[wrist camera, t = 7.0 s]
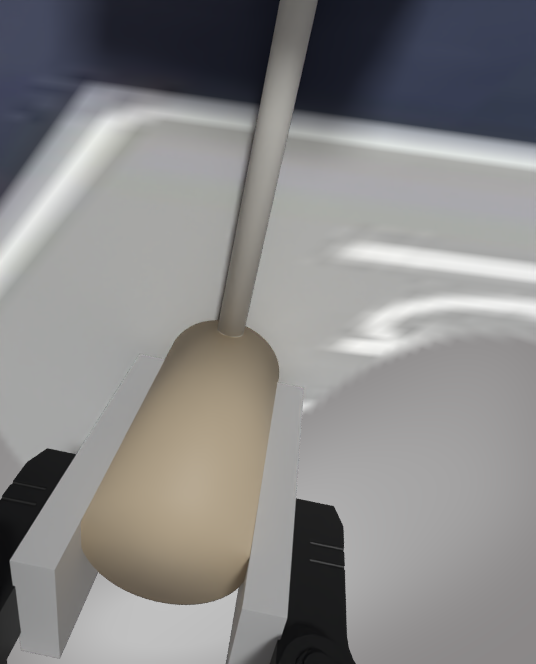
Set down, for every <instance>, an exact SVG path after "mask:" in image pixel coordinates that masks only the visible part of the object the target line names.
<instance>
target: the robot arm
mask: <svg viewBox="0 0 536 664" xmlns="http://www.w3.org/2000/svg"><path fill="white" fill-rule="evenodd" d="M164 360H165V359H162V358H157V357H152V356H147V355H142V354H139V356H138V357H137V359H136V360H135V362H134V364H133V365H132V367H131V368H130V370H129V372H128V373H127V375H126V376H125V378H124V379H123V381H122V383H121V384H120V386H119V387H118V389H117V391H116V392H115V394H114V395H113V397H112V399H111V400H110V402H109V403H108V405H107V407H106V408H105V410H104V411H103V413H102V414H101V416H100V418H99V419H98V421H97V422H96V424H95V426H94V427H93V429H92V430H91V432H90V434H89V435H88V437H87V438H86V440H85V442H84V443H83V445H82V446H81V448H80V449H79V451H78V453H77V454H72V453H67V452H62V451H57V450H53V449H48V448H47V449H46V450H44V451H43V452H41V453H40V454H38V455H37V456H35V457H34V458H32V459H31V460H30V461H28V462H27V463H26V464H25V466H24V467H23V468H22V470H21V471H20V472H19V474H18V475H17V476H16V478H15V479H14V480H13V484H11V485H10V486H9V487H8V489H7V490H6V491H5V493H4V494H3V495H2V499H1V500H0V664H7V658H8V656H9V654H10V652H11V650H12V648H13V646H14V644H15V642H16V641H17V639H18V637H20V646H21V651H26V652H31V653H35V654H40V655H45V656H50V657H54V658H60V657H61V655H62V653H63V650H64V648H65V646H66V644H67V641H68V639H69V637H70V635H71V632H72V630H73V628H74V625H75V623H76V621H77V618H78V616H79V614H80V612H81V610H82V607H83V605H84V603H85V601H86V598H87V596H88V594H89V591H90V589H91V587H92V585H93V583H94V580H95V578H96V576H97V574H98V571H97V570H96V569H95V568H94V567H93V566H92V564H91V563H90V562H89V561H88V559H87V558H86V556H85V554H84V552H83V550H82V548H81V520H82V518H83V516H84V514H85V512H86V510H87V508H88V506H89V504H90V503H91V501H92V499H93V497H94V495H95V493H96V491H97V489H98V487H99V485H100V483H101V481H102V480H103V478H104V476H105V474H106V472H107V470H108V468H109V466H110V464H111V462H112V460H113V458H114V456H115V455H116V453H117V451H118V449H119V447H120V445H121V443H122V441H123V439H124V437H125V435H126V433H127V431H128V430H129V428H130V426H131V424H132V422H133V420H134V418H135V416H136V414H137V412H138V410H139V408H140V407H141V405H142V403H143V401H144V399H145V397H146V395H147V393H148V391H149V389H150V387H151V385H152V383H153V382H154V380H155V378H156V376H157V374H158V372H159V370H160V368H161V366H162V364H163V362H164ZM303 394H304V388H303V387H298V386H294V385H289V384H284V383H279V382H277V389H276V395H275V401H274V407H273V414H272V420H271V426H270V433H269V439H268V445H267V451H266V458H265V464H264V471H263V477H262V483H261V490H260V496H259V502H258V509H257V515H256V522H255V528H254V534H253V541H252V547H251V554H250V559H249V563H248V567H247V571H246V575H245V579H244V582H243V583H242V584H241V585H240V586H239V589H238V595H237V601H236V607H235V613H234V618H233V625H232V630H231V636H230V642H229V648H228V654H227V660H226V664H356V663H355V662H354V660H353V658H352V655H351V653H350V650H349V647H348V640H347V627H346V626H347V625H346V594H345V570H344V566H345V563H344V552H343V550H344V534H343V533H344V532H343V525H342V523H341V521H340V518H339V516H338V514H337V512H336V510H335V508H334V506H330V505H325V504H320V503H315V502H311V501H306V500H301V499H296V491H297V490H296V489H297V477H298V462H299V449H300V436H301V422H302V408H303Z"/></svg>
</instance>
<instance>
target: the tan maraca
mask: <svg viewBox="0 0 536 664" xmlns="http://www.w3.org/2000/svg"><path fill="white" fill-rule="evenodd" d="M317 2H318V0H280V3H279V8H278V13H277V19H276V24H275V29H274V34H273V39H272V45H271V50H270V55H269V60H268V66H267V71H266V76H265V81H264V87H263V92H262V97H261V102H260V108H259V113H258V118H257V123H256V129H255V134H254V139H253V144H252V150H251V155H250V160H249V165H248V171H247V176H246V181H245V186H244V192H243V197H242V202H241V207H240V213H239V218H238V223H237V228H236V234H235V239H234V244H233V249H232V255H231V260H230V265H229V270H228V276H227V281H226V286H225V291H224V297H223V302H222V307H221V312H220V318H219V320H213V321H205V322H201V323H198V324H195V325H193V326H191V327H189V328H188V329H186V330H185V331H183V332H182V333H181V334H180V335H179V336H178V337H177V339H176V340H175V342H174V343H173V345H172V347H171V349H170V351H169V353H168V355H167V357H166V358H165V360H164V362H163V364H162V366H161V368H160V370H159V372H158V374H157V376H156V378H155V380H154V382H153V383H152V385H151V387H150V389H149V391H148V393H147V395H146V397H145V399H144V401H143V403H142V405H141V407H140V408H139V410H138V412H137V414H136V416H135V418H134V420H133V422H132V424H131V426H130V428H129V430H128V431H127V433H126V435H125V437H124V439H123V441H122V443H121V445H120V447H119V449H118V451H117V453H116V455H115V456H114V458H113V460H112V462H111V464H110V466H109V468H108V470H107V472H106V474H105V476H104V478H103V480H102V481H101V483H100V485H99V487H98V489H97V491H96V493H95V495H94V497H93V499H92V501H91V503H90V504H89V506H88V508H87V510H86V512H85V514H84V516H83V518H82V520H81V548H82V550H83V552H84V554H85V556H86V558H87V559H88V561H89V562H90V563H91V564H92V566H93V567H94V568H95V569H96V570H97V571H98V572H99V573H100V574H101V575H103V576H104V577H105V578H106V579H107V580H109V581H110V582H112V583H113V584H115V585H116V586H118V587H120V588H122V589H123V590H125V591H127V592H130V593H132V594H134V595H137V596H140V597H142V598H145V599H149V600H153V601H156V602H162V603H168V604H177V605H194V604H202V603H208V602H211V601H215V600H218V599H221V598H223V597H225V596H227V595H229V594H231V593H232V592H233V591H235V590H236V589H237V588H238V587H239V586H240V585H241V584H242V583H243V582H244V579H245V575H246V571H247V567H248V563H249V559H250V554H251V547H252V541H253V534H254V528H255V522H256V515H257V509H258V502H259V496H260V490H261V483H262V477H263V471H264V464H265V458H266V451H267V445H268V439H269V433H270V426H271V420H272V414H273V407H274V401H275V395H276V389H277V382H278V379H279V365H278V361H277V358H276V356H275V353H274V351H273V350H272V348H271V346H270V345H269V344H268V343H267V342H266V340H265V339H263V338H262V337H261V336H260V335H259V334H258V333H256V332H255V331H253V330H251V329H250V328H248V327H246V326H245V325H246V320H247V316H248V311H249V307H250V302H251V298H252V293H253V289H254V284H255V280H256V275H257V271H258V267H259V262H260V258H261V253H262V249H263V244H264V240H265V235H266V231H267V226H268V222H269V217H270V213H271V208H272V204H273V199H274V195H275V190H276V186H277V181H278V177H279V173H280V168H281V164H282V159H283V155H284V150H285V146H286V141H287V137H288V132H289V128H290V123H291V119H292V114H293V110H294V105H295V101H296V96H297V92H298V87H299V83H300V78H301V74H302V70H303V65H304V61H305V56H306V52H307V47H308V43H309V38H310V34H311V29H312V25H313V20H314V16H315V11H316V7H317Z"/></svg>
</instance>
